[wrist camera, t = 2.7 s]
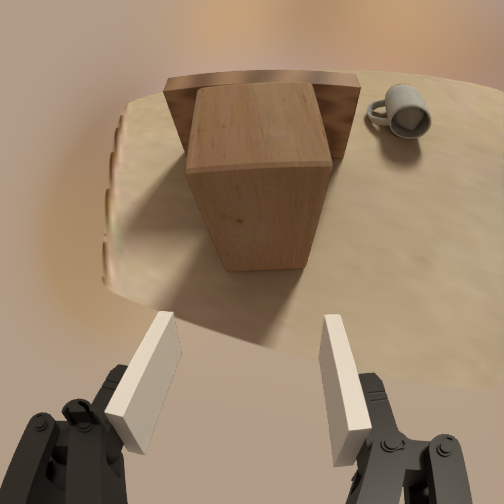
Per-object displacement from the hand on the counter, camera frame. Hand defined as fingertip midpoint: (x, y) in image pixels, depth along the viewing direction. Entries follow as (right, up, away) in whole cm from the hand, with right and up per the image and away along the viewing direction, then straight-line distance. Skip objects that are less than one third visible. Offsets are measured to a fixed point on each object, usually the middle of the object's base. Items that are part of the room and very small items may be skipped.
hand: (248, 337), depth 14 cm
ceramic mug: (+26, +27, +32) cm, 49 cm away
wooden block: (+2, +6, +25) cm, 26 cm away
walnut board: (+2, +20, +30) cm, 36 cm away
